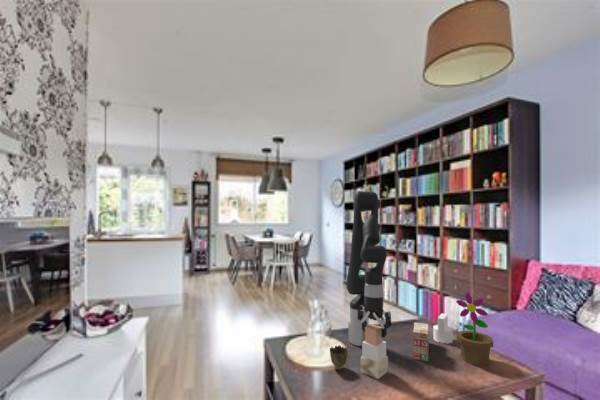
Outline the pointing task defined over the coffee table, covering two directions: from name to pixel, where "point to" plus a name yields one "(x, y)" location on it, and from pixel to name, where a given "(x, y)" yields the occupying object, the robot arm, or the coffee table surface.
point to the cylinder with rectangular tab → (443, 330)
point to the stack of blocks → (420, 342)
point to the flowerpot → (474, 335)
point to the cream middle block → (374, 351)
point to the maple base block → (374, 367)
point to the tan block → (373, 334)
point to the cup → (338, 356)
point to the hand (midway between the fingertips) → (374, 334)
